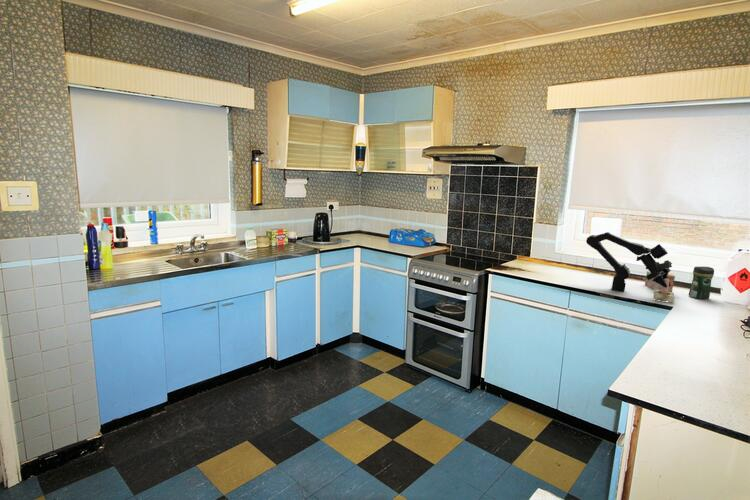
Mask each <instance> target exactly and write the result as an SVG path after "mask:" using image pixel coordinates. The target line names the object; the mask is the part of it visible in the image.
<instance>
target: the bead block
mask: <svg viewBox="0 0 750 500" xmlns="http://www.w3.org/2000/svg"><path fill="white" fill-rule="evenodd" d="M653 291H654V290H653ZM654 299H655V300H654ZM674 299H675V294H674V292H673V291H672V292H667V295H666V294H661V291H660V290H655V291H654V292H653V300H654V301H656V300H660V301H659V302H662V301H668V302H673V303H674ZM668 302H667V303H668Z"/></svg>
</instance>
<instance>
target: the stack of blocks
mask: <svg viewBox="0 0 750 500" xmlns="http://www.w3.org/2000/svg"><path fill="white" fill-rule="evenodd" d="M648 274H650V271H649V270H647V271H646V275H645V283H644V285H645V286H647V287H648V288H649V289H651V290H653V291H655V290H660V291H661V290H662V285H660V284H658V283H656V282H654V281H652V280H653V279H654V278H652V279H651V280H648V279H647V278H646V276H647V275H648ZM675 278H676V276H675V275H674V274H672V273H671V272H669V274H668V279H669V282H670V285H671V286H669V287H668V292H673V288H674V284H675V280H676V279H675Z"/></svg>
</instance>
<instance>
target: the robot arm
mask: <svg viewBox="0 0 750 500" xmlns="http://www.w3.org/2000/svg"><path fill="white" fill-rule="evenodd" d="M606 240H607V241H609V242H612V243H614V244H616V245H618V246H621V247H623V248H626V249H627V250H629V251H630V252H631V253H632V254H634V255H636V259H635V261H637V262H639V261H641V262H642V264H643V265H644V266H645V270H647V271H650V274H648V275H647V276H646V275H645V279H646V278H647V279H648V280H651V279H652V278H654V279H653V280H652V281H654V282H656V283H658V284H660V285H662V286H663V287H665V288H667V287H668V286H667V284H666V283H665V281H664V279H668V274H669V273H671V271H672V270H671V268H672V267H673V265H672V264H673V263H672V262H671V261H670V260H669V259H668V260H667V259H666V260H664V261H663V262H661V263H660V262H659V261H656V260H655V259H658V260H659V259H661V258H663V257H664V256H667V255H668V253H669V252H668V251H667V250H666V248H665V247H663V246H662V245H661V244H660V243H659V244H657V245H656V246H653V248H650V247H645V246H644V245H643V244H640V243H637V242H631V241H629V240H626V239H624V238H621V237H620V236H617V235H615V234H612V233H611V232H608V231H607V232H604V233H600V234H597V235H595V234H592V235H589V236H588V237H587V238H586V244H587V245H588V246H589V247H591V248H592V249H594V250H596V251H597V253H598V254H600V256H602V257H603V259H604V260H605V261H606V262H607V263H608V264H609V265H610V266H611V267H612V268H613V270H614V272H615V274H614V276H613V280H612V284H611V289H610V291H615V292H616V291H617V292H621V291H622V293H624V291H625V290H626V280H627V279H628V278H629V276H630V275H631V271H630V268H629V267H627V265H626V264H625V263H623V264H621V263H619V262H618V260H617V259H616V258H615V257H614V256H613V255H612V254H611V253H610V251H608V250H607V249H606V248H605V247H604V245H603V244H602V242H603V241H606ZM669 286H671V285H670V282H669Z"/></svg>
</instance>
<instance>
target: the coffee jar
mask: <svg viewBox="0 0 750 500" xmlns="http://www.w3.org/2000/svg"><path fill="white" fill-rule="evenodd" d="M692 275H693V276H692V277H693V278H692V281H691V285H690V287H689V291H688V296H689V297H690V298H692V297H693V299H698V300H708V299H710V297H711V287H712V279H713V277H714V276H715V269H714V267H710V266H694V268H693V271H692Z"/></svg>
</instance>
